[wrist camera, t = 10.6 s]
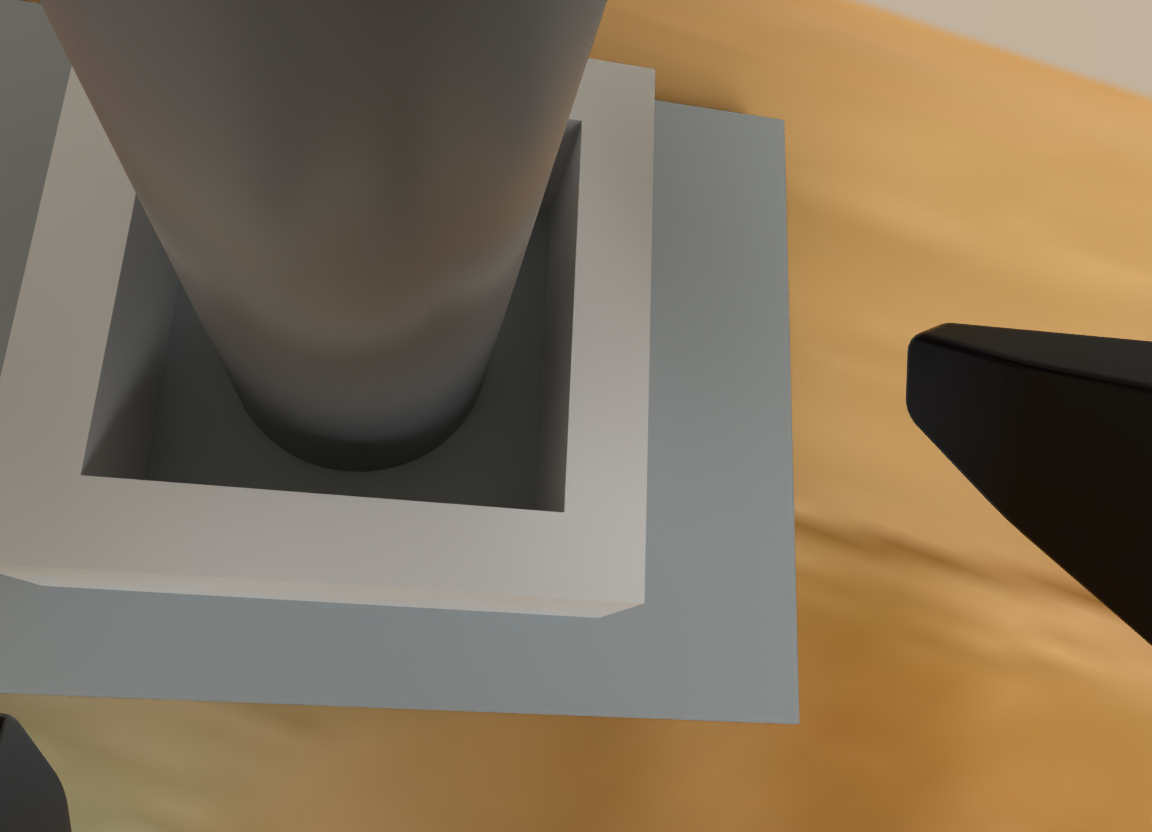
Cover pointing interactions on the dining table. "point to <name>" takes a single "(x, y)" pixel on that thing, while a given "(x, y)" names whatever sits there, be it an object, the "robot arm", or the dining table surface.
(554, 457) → the dock
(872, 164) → the dining table surface
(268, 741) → the dining table surface
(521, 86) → the peg
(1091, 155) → the dining table surface
